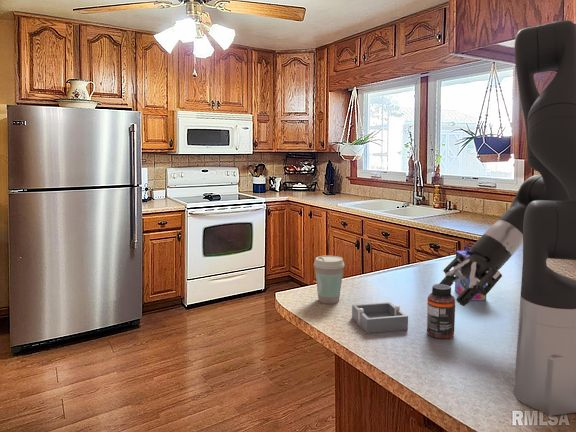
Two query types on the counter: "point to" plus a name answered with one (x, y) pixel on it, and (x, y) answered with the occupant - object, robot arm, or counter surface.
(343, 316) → the counter surface
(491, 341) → the counter surface
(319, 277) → the coffee cup
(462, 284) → the ink cartridge box
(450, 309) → the supplement bottle
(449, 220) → the counter surface
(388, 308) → the tray
